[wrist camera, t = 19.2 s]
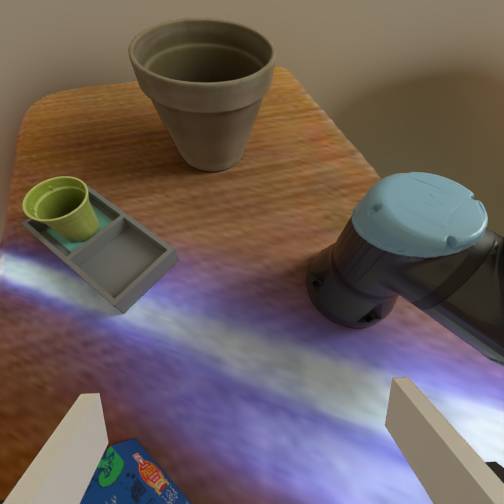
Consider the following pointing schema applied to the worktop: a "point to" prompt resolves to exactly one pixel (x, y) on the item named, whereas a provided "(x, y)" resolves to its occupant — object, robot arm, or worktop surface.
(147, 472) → the pasta box
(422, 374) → the worktop surface
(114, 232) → the tray
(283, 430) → the worktop surface
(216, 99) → the plant pot
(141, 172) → the worktop surface
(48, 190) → the plant pot
